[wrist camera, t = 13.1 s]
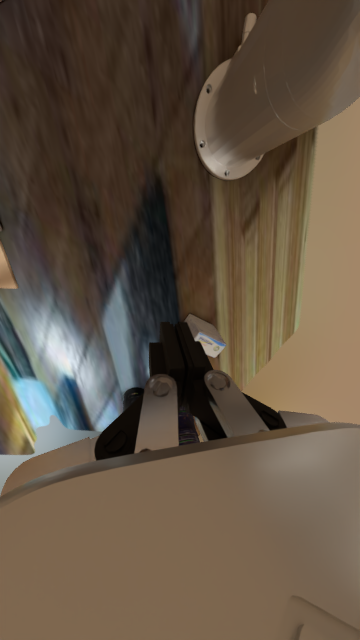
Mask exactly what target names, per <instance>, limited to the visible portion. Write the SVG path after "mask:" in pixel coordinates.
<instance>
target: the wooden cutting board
mask: <svg viewBox="0 0 360 640" xmlns="http://www.w3.org/2000/svg"><path fill="white" fill-rule="evenodd" d="M0 288H16V289H17V288H19V287H18V285H17V282H16V279H15V277H14V274H13V272H12V269H11V266H10V264H9V261H8V258H7V256H6V253H5V250H4V248H3V245H2V242H1V240H0Z"/></svg>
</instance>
